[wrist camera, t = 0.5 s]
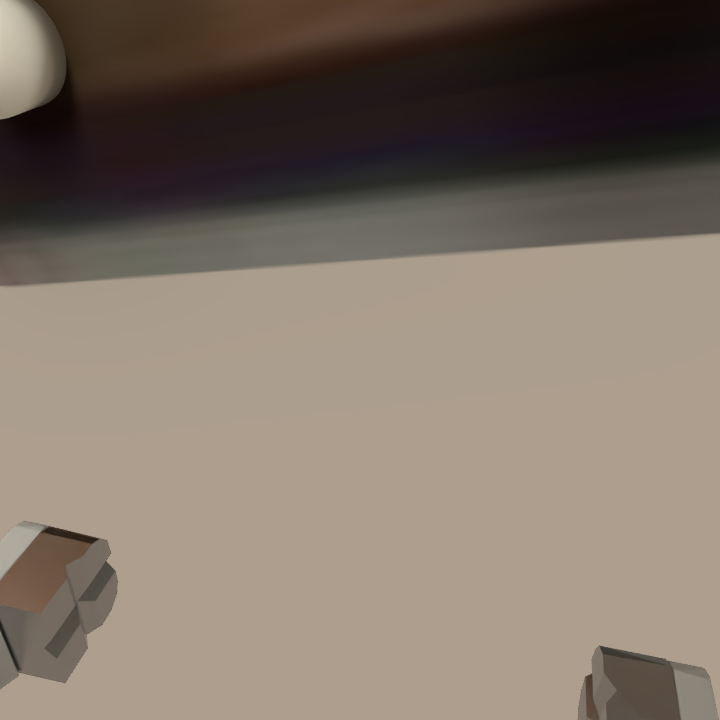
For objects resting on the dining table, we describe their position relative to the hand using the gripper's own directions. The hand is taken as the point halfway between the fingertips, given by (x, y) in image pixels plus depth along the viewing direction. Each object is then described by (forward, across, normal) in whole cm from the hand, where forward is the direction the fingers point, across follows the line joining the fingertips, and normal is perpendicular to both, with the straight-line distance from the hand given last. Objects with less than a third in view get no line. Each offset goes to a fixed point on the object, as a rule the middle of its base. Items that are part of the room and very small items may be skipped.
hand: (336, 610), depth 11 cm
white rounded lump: (+46, +39, +1) cm, 60 cm away
